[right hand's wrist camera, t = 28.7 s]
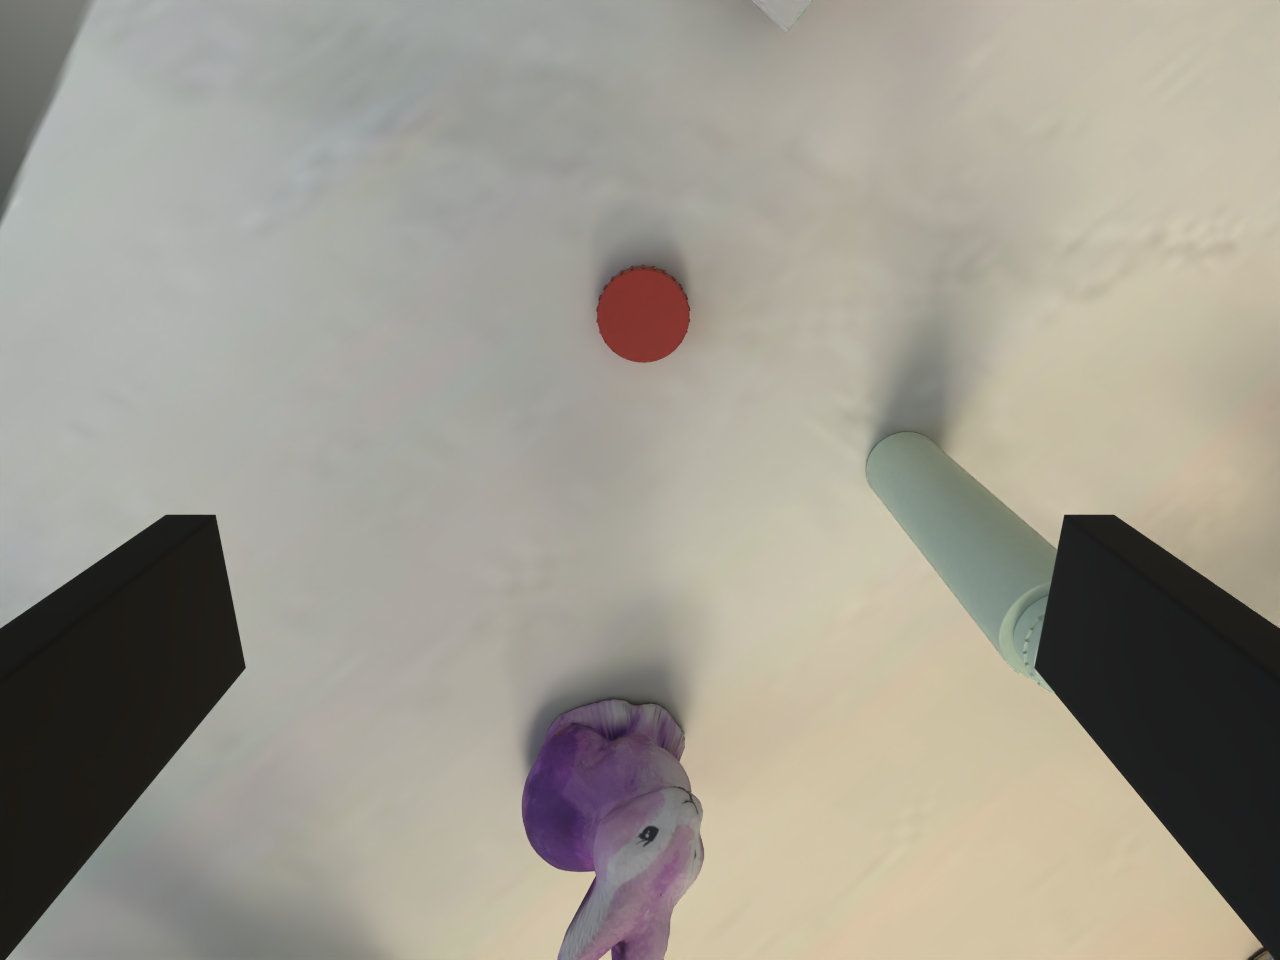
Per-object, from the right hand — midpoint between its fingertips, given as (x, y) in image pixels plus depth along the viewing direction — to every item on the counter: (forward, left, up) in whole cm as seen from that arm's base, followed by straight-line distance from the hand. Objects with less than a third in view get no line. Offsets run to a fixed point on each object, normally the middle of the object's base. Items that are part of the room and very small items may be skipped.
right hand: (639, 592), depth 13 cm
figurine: (-26, +2, -30) cm, 40 cm away
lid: (0, 0, -28) cm, 28 cm away
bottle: (-8, -14, -30) cm, 34 cm away
